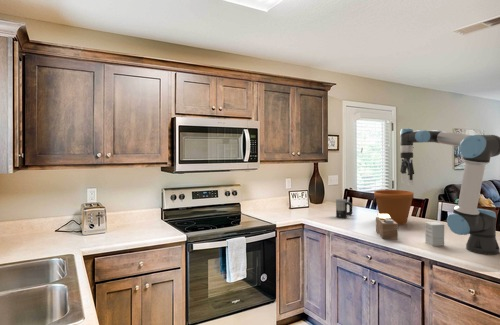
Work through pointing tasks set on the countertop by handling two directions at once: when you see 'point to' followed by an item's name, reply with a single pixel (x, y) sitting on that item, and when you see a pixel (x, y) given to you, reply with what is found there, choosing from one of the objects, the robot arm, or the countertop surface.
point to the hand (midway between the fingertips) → (407, 184)
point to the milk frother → (343, 208)
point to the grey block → (388, 220)
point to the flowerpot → (394, 204)
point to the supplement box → (434, 233)
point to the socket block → (386, 229)
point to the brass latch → (383, 216)
